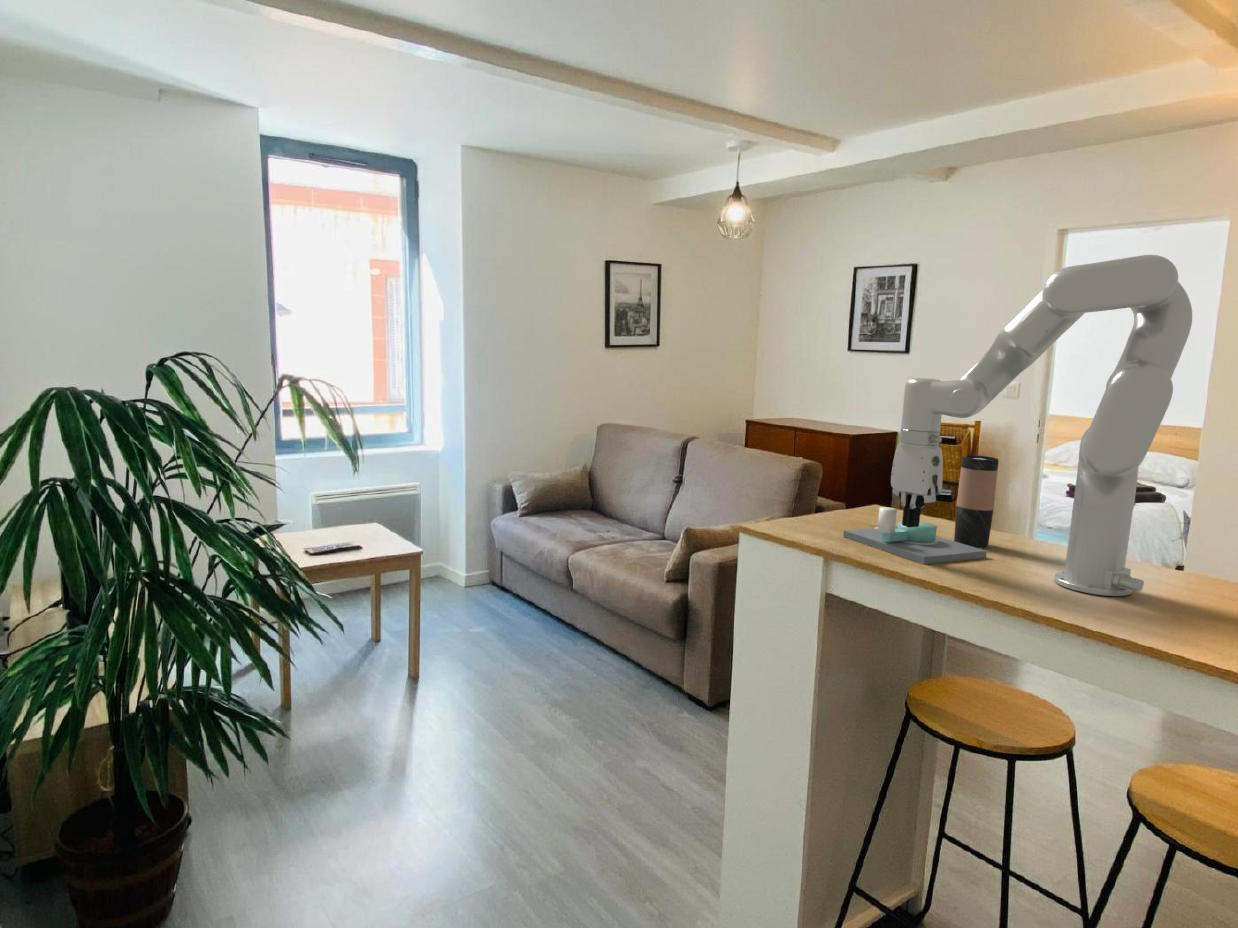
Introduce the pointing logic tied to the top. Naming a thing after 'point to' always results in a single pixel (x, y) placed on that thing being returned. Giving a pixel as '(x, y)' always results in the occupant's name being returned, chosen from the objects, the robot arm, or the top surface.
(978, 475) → the travel mug
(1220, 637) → the top surface
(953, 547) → the base plate
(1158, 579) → the top surface
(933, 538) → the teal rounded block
